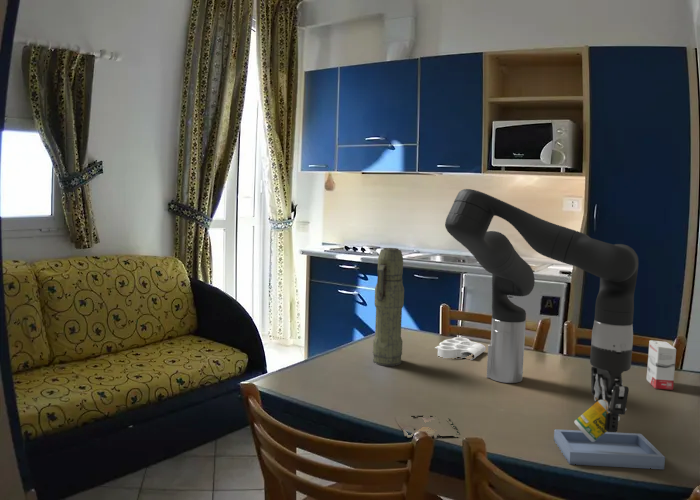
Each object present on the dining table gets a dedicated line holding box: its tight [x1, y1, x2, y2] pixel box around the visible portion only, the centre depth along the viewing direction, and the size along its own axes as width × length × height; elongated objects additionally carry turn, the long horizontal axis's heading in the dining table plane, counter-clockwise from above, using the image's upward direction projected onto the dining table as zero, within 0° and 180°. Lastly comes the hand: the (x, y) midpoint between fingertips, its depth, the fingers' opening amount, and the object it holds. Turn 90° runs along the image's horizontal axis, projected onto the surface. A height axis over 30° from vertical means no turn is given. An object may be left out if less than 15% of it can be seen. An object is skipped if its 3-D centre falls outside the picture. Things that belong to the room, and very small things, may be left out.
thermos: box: [372, 247, 405, 367], centre depth 179 cm, size 9×12×35 cm
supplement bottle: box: [574, 395, 627, 442], centre depth 119 cm, size 5×5×10 cm
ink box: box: [646, 339, 677, 391], centre depth 165 cm, size 9×5×12 cm, turn 168°
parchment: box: [400, 415, 460, 438], centre depth 132 cm, size 12×13×1 cm
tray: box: [553, 429, 666, 470], centre depth 120 cm, size 18×11×2 cm, turn 86°
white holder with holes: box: [434, 336, 487, 361], centre depth 193 cm, size 3×18×15 cm
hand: (605, 425), depth 120 cm, fingers closed on supplement bottle, 5 cm apart
